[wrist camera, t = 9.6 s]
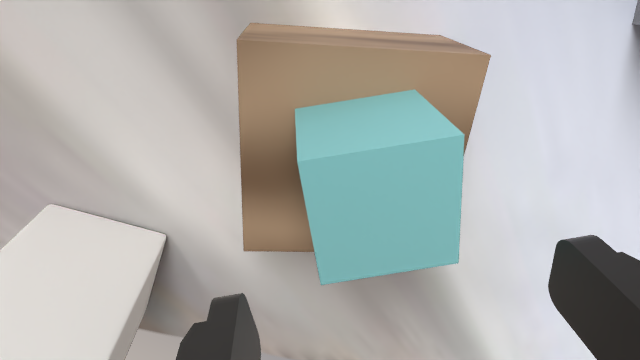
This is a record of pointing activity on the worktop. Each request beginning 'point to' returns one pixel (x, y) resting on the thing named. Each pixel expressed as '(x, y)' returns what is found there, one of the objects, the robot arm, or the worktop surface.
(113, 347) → the milk carton
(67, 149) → the worktop surface
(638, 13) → the gray cube
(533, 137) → the worktop surface
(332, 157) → the teal cube
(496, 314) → the worktop surface
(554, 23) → the worktop surface
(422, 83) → the walnut base block
